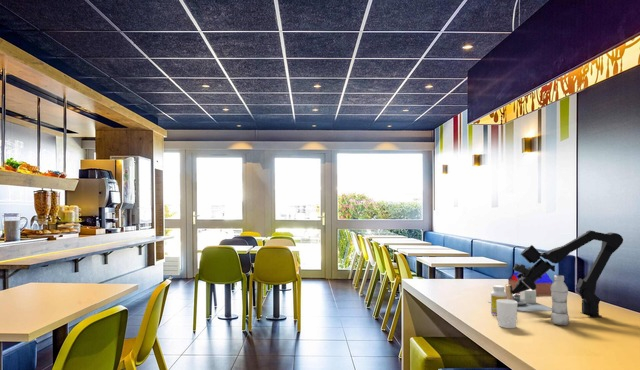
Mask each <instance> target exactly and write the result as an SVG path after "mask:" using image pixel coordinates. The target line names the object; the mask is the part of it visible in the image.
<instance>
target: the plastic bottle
mask: <svg viewBox="0 0 640 370" xmlns="http://www.w3.org/2000/svg"><path fill="white" fill-rule="evenodd" d="M553 280H554V281H552V282H553V283H552V285H551V287H550V290H551V294H550V297H551V303H552V304H551V308H552V311H551V314H550V320H551V322H552V324H554V325H558V326H567V325H568V324H569V322H570V317H569V311H568V294H569V293H568V292H569V287H568V286H567V284H566V283H565V282H564V281H565V276H564V275H561V274H554V275H553Z"/></svg>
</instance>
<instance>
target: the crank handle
mask: <svg viewBox="0 0 640 370" xmlns="http://www.w3.org/2000/svg"><path fill="white" fill-rule="evenodd" d="M504 288H505V293H506V294H507V299H508V300H514V301H517V305H526V300H525V299H522V298H520V294H516V293H515V294H513V293H512V285H508V284H505V286H504Z"/></svg>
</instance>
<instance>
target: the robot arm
mask: <svg viewBox="0 0 640 370" xmlns="http://www.w3.org/2000/svg"><path fill="white" fill-rule="evenodd" d="M592 241H598V242H599V241H600V242H601V246H600V247H601V248H600V251H599V253H598V254H597V256H596V258H595V260H594V261H593V264H592V266H591V267H590V269H589V271H588V273H587V275H586V277H584V278H583V279H582V278H579V279H578V281H577V284H575V287H576V288H575V291H576V292H575V293H576V294H577V295H578V296H580V298H581V314H582V315H585V316H587V317H589V318H602V317H603V315H600V309H599V308H600V307H599V306H600V305H599V304H600V301H601V298H600V297H598V296H597V295H596V294H595V293H596V289H597V283H598V280H599V278H600V276H601V275H602V273H603V271H604V270H605V267H607V266H606V265H607V263H608V261H609V260H610V258H611V256H612V255H613V253H615V252H616V251H617V250H618V249H619V248H620V247H621V245H622V244H623V242H624V239H623V236H622V235H621V234H619V233H615V232H607V233H603V232H598V231H596V230H587V231H585V233H582V234H581V235H579V236H578V237H575V238H574V239H572V240H571V241H569V242H567V243H566V244H564V245H560V246H557V247H555V248H552V249H550V250H547V251H546V252H540V251H538V249H536V247H535V246H534V245H533V244H531V245H530V246H528V247H527V248H524V250H522V251H521V252H520V256H522V257H523V259H525V260H526V261H527V262H528V263H529V264H533V265H532V266H529V267H528V268H527V267H526V265H524V264H522V263H520V264H518V263H515V264H514V266H513V267H512V270H513V271H515V272H517V273H518V274H517V275H516V276H517V277H518V278H517V280H518V283H517V285H516V286H515V288H514V289H513V291H512V294H516V293H519V292H522V291H525V290H529V287H530V288H531V289H532V290H535V289H536V284H535V282H536V281H537V280H538V279H539V278H540V279H541V278H542V276H543V275H544V274H545V273H547V272H548V271H549V270H551V271H552V272H556V265H554V264H559V263H561V262H562V261H563V260H564V259H566V258H567V256H568V255H570V253H572V252H574V251H576V250H577V249H579V248H581V247H583V246H584V245H587V244H588V243H590V242H592ZM544 260H545V261H544Z"/></svg>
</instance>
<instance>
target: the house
mask: <svg viewBox="0 0 640 370" xmlns="http://www.w3.org/2000/svg"><path fill="white" fill-rule="evenodd" d="M518 273H519V272H513V273H512V274H511V275H510V276H509V278H508V279H507V280H508V283H507V285H512V291H513V289H514V288H515V286H516V285H517V283H518V280H517V278H518V277H517V276H516V275H517V274H518ZM553 282H554V281H553V280H552V279H551V278H550V276H549V275H548V273H547V272H546V273H545V274H544V275H543V276H542V278H541V279H540V278H539V279H538V280H537V281H536V282H535V284H536V289H535V290H536V296H538V295H539V296H541V295H551V290H550V287H551V285H552V283H553ZM529 289H531V288H530V287H529ZM515 294H519V295H520V292H519V293H515Z"/></svg>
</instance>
